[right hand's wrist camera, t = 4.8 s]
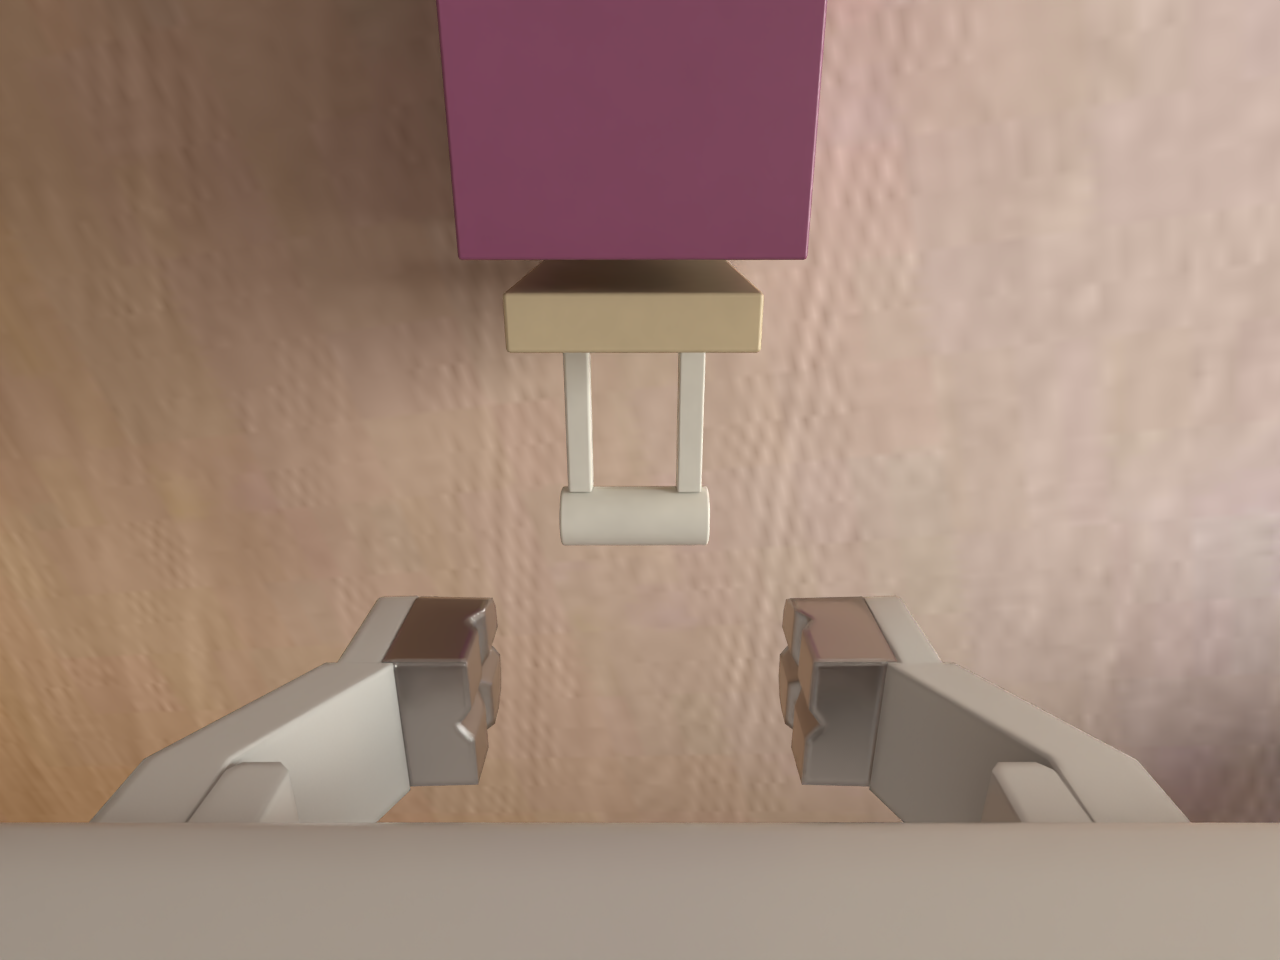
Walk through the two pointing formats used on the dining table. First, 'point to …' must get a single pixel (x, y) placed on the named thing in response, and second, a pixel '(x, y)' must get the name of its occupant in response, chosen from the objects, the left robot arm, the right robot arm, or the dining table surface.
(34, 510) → the dining table surface
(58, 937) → the right robot arm
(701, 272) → the drawer
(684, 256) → the cabinet
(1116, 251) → the dining table surface
